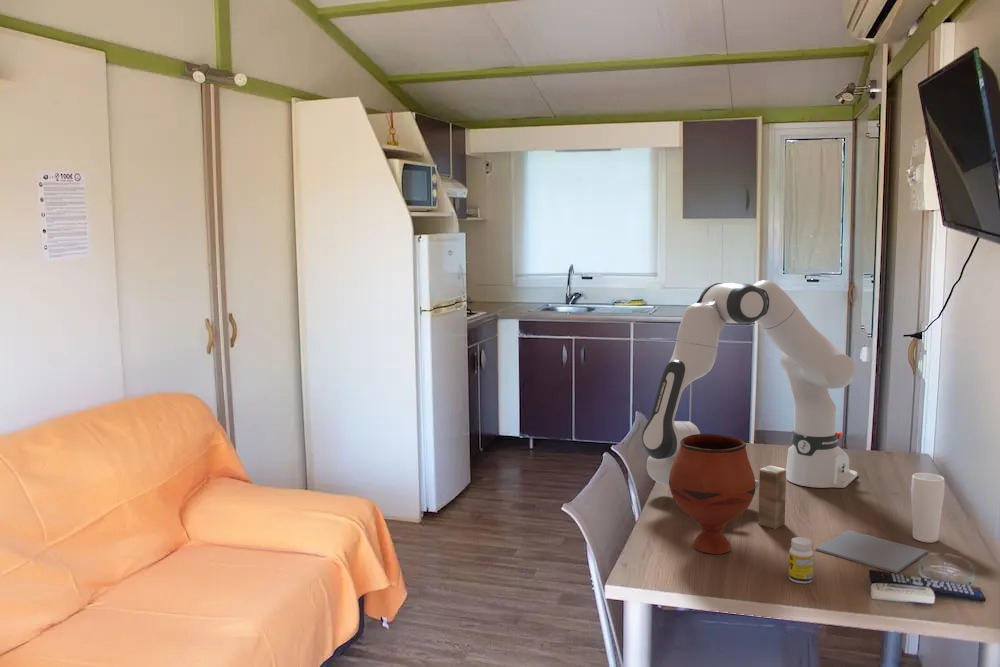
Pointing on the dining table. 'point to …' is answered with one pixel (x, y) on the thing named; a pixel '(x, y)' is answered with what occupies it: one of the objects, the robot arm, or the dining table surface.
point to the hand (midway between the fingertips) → (748, 488)
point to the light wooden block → (772, 496)
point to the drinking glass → (926, 505)
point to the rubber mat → (872, 551)
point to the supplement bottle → (801, 560)
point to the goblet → (712, 485)
